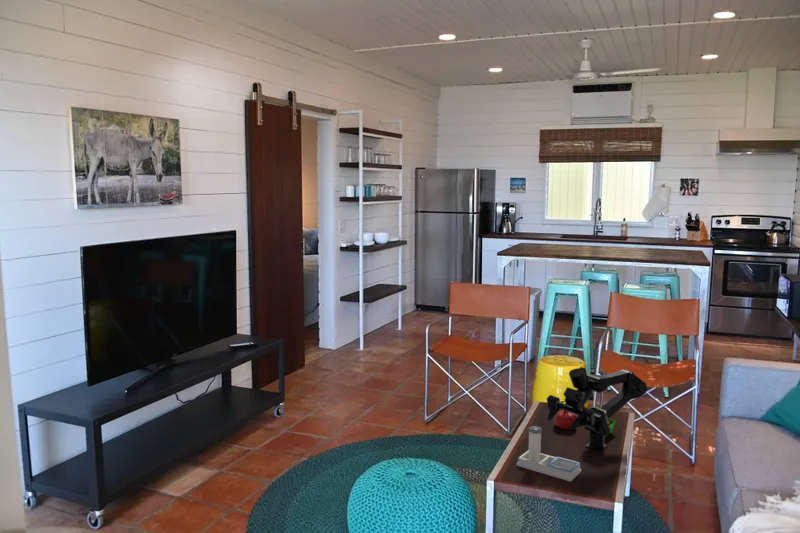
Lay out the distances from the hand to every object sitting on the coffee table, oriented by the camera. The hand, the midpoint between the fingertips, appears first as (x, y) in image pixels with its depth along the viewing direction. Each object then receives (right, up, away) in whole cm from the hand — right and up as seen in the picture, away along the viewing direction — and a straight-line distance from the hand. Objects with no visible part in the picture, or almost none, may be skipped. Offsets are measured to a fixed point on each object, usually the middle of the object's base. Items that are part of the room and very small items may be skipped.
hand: (559, 424), depth 236 cm
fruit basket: (+25, -12, +31) cm, 42 cm away
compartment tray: (-4, -16, -2) cm, 17 cm away
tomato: (+12, -11, +38) cm, 42 cm away
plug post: (-9, -14, +2) cm, 17 cm away
